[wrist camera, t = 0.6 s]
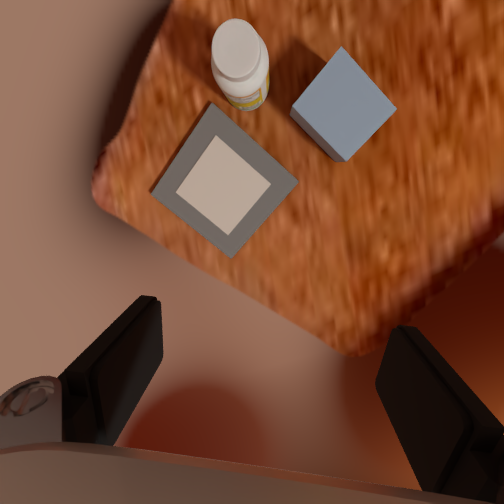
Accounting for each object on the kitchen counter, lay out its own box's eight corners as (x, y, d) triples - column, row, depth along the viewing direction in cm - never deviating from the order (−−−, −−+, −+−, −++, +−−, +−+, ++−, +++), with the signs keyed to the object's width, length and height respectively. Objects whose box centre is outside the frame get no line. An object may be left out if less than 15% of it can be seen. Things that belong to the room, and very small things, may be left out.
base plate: (213, 103, 30) (211, 102, 29) (298, 181, 32) (299, 181, 31) (152, 193, 34) (150, 194, 34) (231, 257, 36) (231, 259, 36)
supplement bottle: (252, 121, 30) (243, 102, 21) (215, 92, 30) (190, 60, 21) (279, 78, 29) (281, 37, 20) (241, 46, 28) (225, -10, 19)
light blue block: (329, 66, 28) (341, 46, 23) (377, 118, 29) (397, 109, 25) (289, 115, 30) (292, 106, 25) (335, 162, 31) (346, 161, 26)
